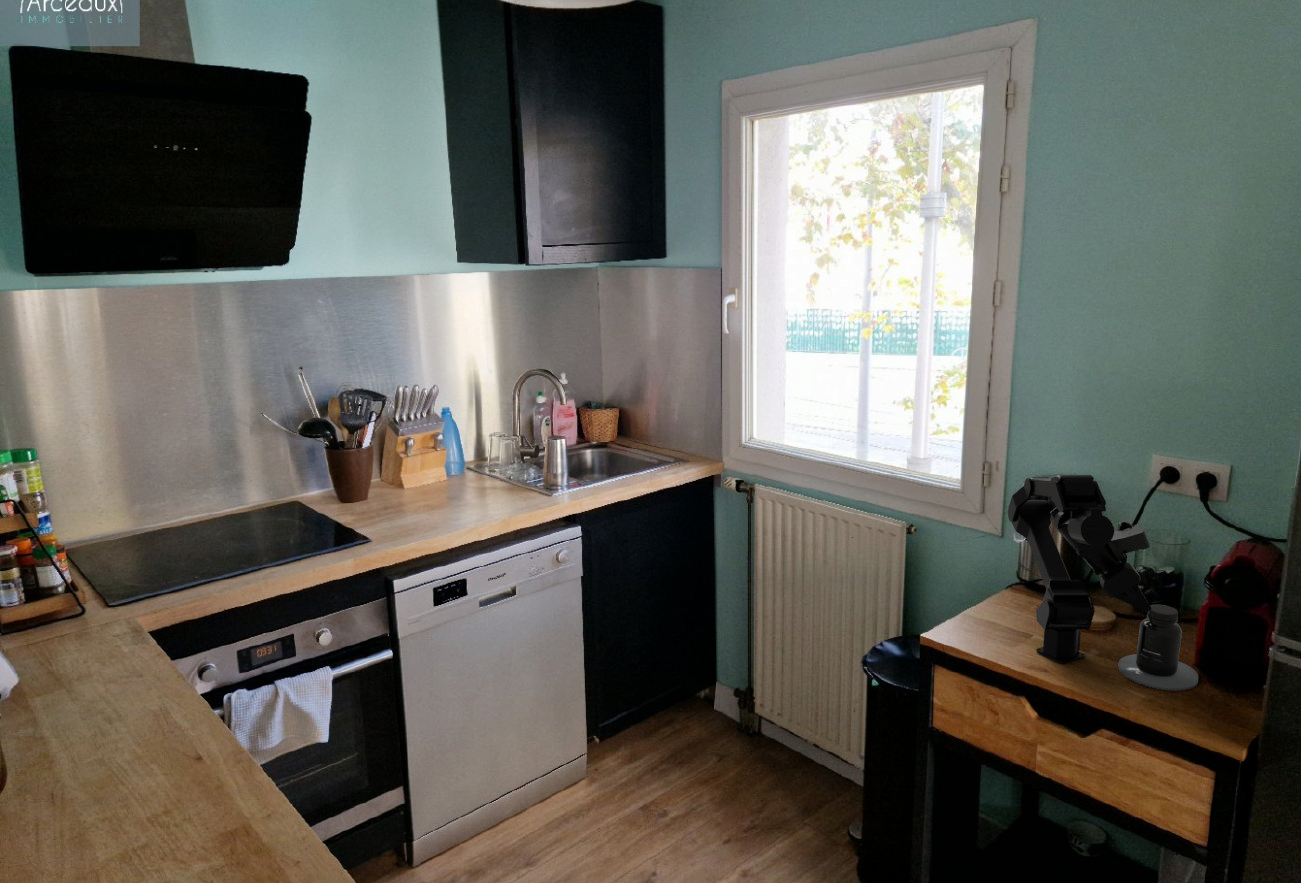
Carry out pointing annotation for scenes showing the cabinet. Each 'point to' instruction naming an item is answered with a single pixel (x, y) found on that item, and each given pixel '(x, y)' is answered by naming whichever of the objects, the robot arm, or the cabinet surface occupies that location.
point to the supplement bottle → (1159, 642)
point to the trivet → (1176, 682)
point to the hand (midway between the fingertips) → (1144, 601)
